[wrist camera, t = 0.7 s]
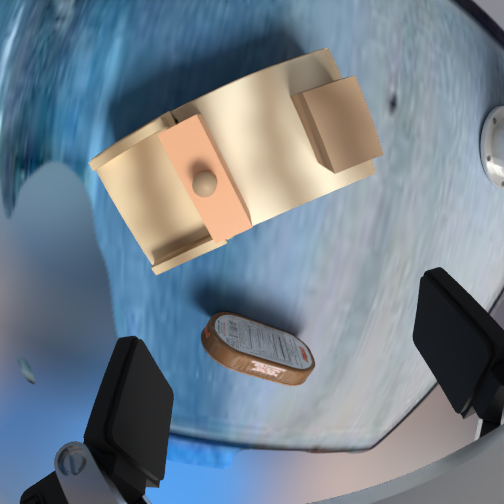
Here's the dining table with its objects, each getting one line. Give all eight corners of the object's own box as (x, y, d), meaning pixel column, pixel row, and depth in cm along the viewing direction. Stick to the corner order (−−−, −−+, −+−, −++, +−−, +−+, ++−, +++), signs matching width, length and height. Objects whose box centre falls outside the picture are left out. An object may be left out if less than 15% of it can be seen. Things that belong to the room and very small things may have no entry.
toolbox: (309, 58, 26) (335, 42, 18) (350, 160, 31) (386, 178, 23) (117, 149, 29) (82, 163, 21) (169, 241, 34) (153, 280, 26)
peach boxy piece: (201, 114, 21) (194, 114, 17) (249, 212, 25) (253, 233, 21) (167, 131, 22) (152, 136, 18) (217, 226, 26) (214, 250, 21)
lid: (325, 50, 20) (348, 36, 16) (371, 170, 25) (401, 185, 20) (175, 111, 22) (160, 111, 17) (235, 229, 27) (236, 257, 22)
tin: (202, 316, 39) (197, 363, 31) (211, 299, 38) (207, 345, 30) (299, 350, 42) (310, 394, 35) (311, 335, 41) (324, 379, 34)
